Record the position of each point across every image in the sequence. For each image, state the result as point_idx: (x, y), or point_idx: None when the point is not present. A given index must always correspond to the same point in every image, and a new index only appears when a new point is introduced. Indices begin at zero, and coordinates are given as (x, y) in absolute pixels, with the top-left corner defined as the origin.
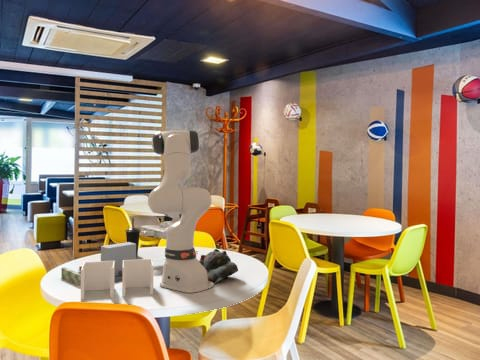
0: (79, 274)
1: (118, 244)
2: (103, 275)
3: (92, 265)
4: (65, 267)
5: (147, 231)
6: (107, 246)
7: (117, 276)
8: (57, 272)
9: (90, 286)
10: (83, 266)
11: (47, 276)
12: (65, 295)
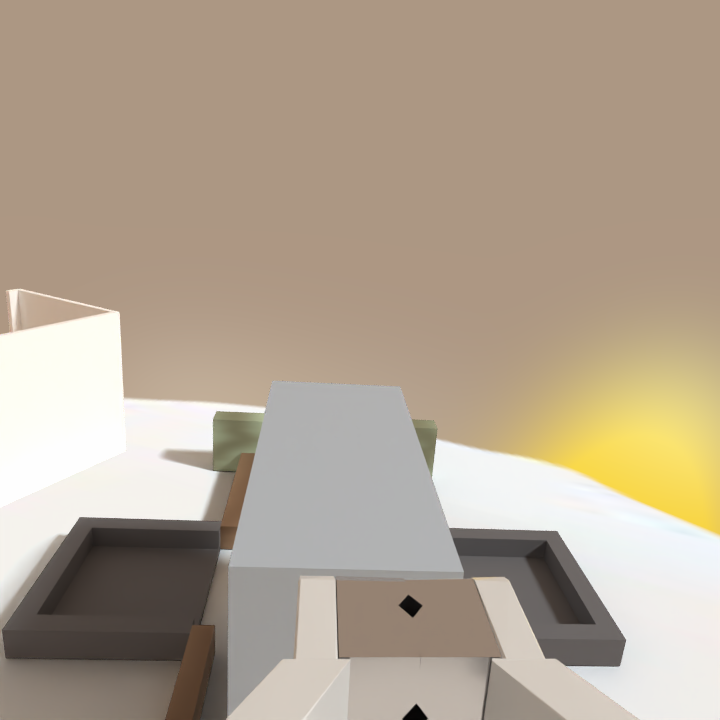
0: (232, 416)
1: (371, 455)
2: (32, 412)
3: (80, 337)
4: (432, 428)
5: (360, 656)
6: (346, 397)
7: (159, 611)
8: (550, 486)
9: (96, 442)
10: (56, 300)
11: (487, 451)
12: (140, 412)
